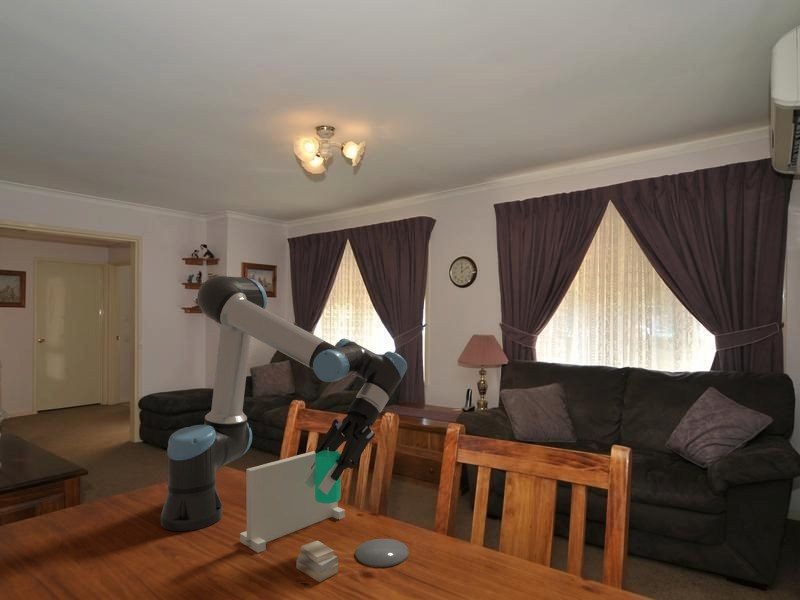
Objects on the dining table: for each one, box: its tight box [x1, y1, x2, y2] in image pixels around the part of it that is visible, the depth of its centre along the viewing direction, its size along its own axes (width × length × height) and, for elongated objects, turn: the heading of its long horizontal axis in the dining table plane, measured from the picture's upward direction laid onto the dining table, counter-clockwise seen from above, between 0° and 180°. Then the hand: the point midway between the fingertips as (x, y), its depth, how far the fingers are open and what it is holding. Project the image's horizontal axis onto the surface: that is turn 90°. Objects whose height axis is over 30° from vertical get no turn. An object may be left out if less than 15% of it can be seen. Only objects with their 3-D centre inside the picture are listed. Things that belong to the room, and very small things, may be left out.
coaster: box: [355, 538, 409, 568], centre depth 116 cm, size 12×12×1 cm
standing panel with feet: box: [239, 449, 346, 554], centre depth 129 cm, size 8×26×18 cm, turn 137°
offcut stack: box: [295, 540, 339, 583], centre depth 109 cm, size 8×5×4 cm, turn 47°
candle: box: [315, 450, 342, 504], centre depth 120 cm, size 6×6×12 cm
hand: (315, 487), depth 117 cm, fingers closed on candle, 5 cm apart
